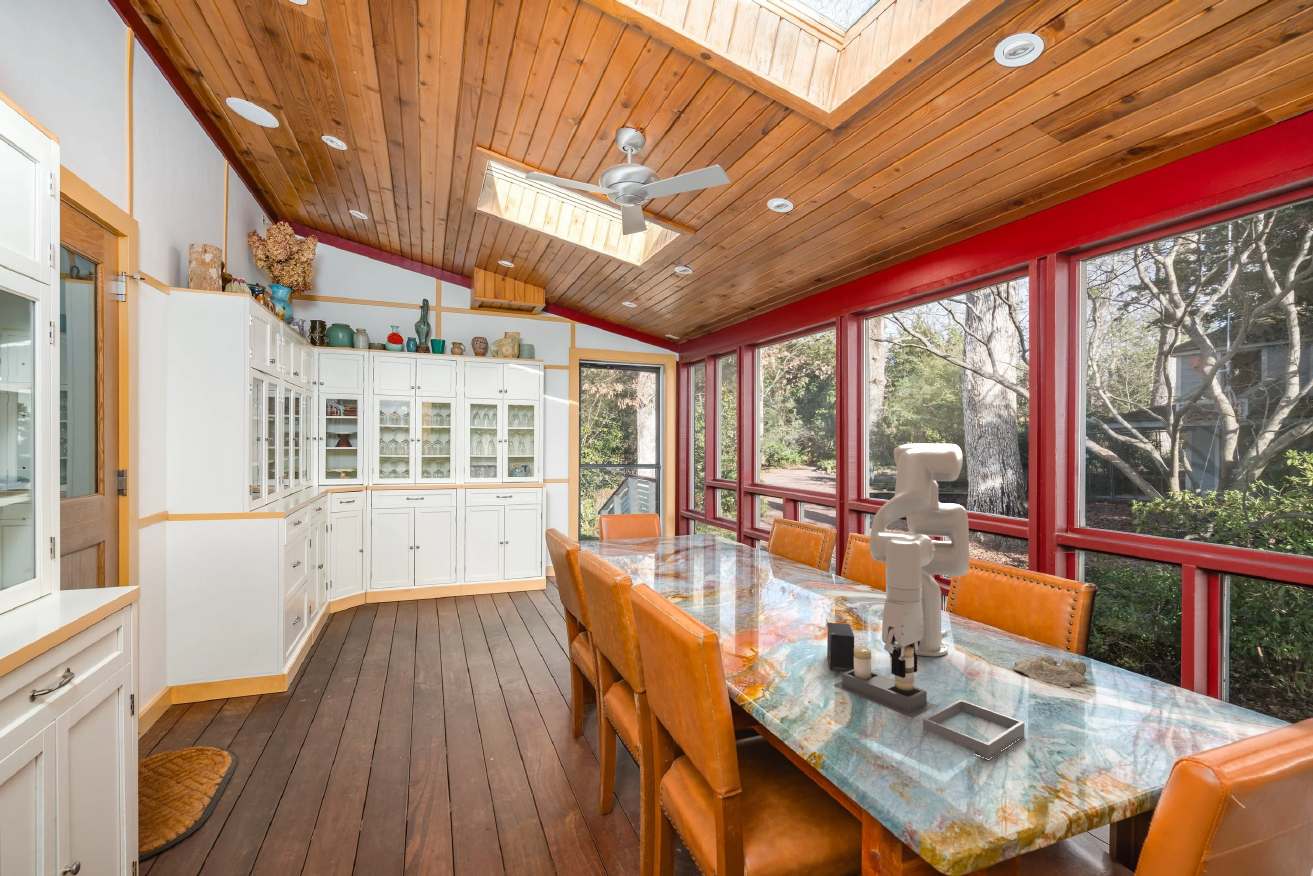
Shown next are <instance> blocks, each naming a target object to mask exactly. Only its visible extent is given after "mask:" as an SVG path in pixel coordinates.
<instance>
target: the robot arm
mask: <svg viewBox="0 0 1313 876" xmlns="http://www.w3.org/2000/svg"><path fill="white" fill-rule="evenodd" d="M893 458H894V463H895V465H896V467H897V468H896V469H897V471H896V479H895V486H894V487H895V488H894V496H893V497H891V498H890V499H889V500H888V501H885V503H884V504H883V505H882V506H881V507H880V508H879V510H877V512H876V513H875V516H874V517H873V520H872V524H871V530H870V536H869V553H870V556H871V557H872V558H873V560H874V561H876V562H879V563H884V564H885V593H886V594H885V601H884V605H883V612H882V625H881V640H882V642H883V643H884V647H883V649H884V650H885V652H887V653H888V654H889V657H890V659H891V661H890V665H891V670H890V671H891V674H892V675H894V676H895V675H896V676H899V677H902V678H904V677H906V666H905V660H903V659H904V649H905V646H907V645H909V646H911V647H913V648H914V673H917V672H918V656H922V657H941V656H944V655H947V653H948V647H947V645H946V644H944V643H942V640H943V639H944V638H947V636H948V632H947V631H946V630H942V590H941V587H940V584H938V582H937V581H936V579H935V578H934V577H933V576H932V575H935V576H937V575H938V576H947V577H950V576H951V577H963V576H965V575H967V574H968V571H969V567H970V541H969V540H970V539H969V538H970V537H969V534H970V533H969V527H970V526H969V517H968V512H967V509H966V508H965V507H964V506H963V505H960V504H957V503H950V502H949V503H948V502H947V503H944V502H943V503H942V502H940V501H939V484H938V482H954V481H956V480H958V478H959V476H960V473H961V471H962V467H963V461H964V459H963V453H962V450H961V448H960V446H959V445H957V444H955V443H907V444H906V443H905V444H901V445H898V446H897V447H896V448H895V449H894V452H893ZM904 517H906V526H907V529H908V531H909V532H901V531H886V528H887V527H888V526H889V525H890V524H891V523H893V522H895V521H897V520H899V519H902V518H904ZM930 537H941V538H948V539H949V540H950V541H947V540H946V541H944V540H943V541H942V540H934V539H932V538H930ZM895 647H897V648H900V649H899V652H898V651H897V650H896V649H895Z"/></svg>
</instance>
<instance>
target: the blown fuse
mask: <svg viewBox="0 0 1313 876" xmlns="http://www.w3.org/2000/svg"><path fill="white" fill-rule="evenodd" d="M895 649H896V650H897V651H898V652H899V649H900V648H897V647H895ZM903 660H905V666H906V677H904V678H902V677H899V676H896V675H894V680H895V686H896V687H897V688H898V689H901V690H907V691H909V690H913V689H914V687H915V672H914V648H913V647H911V646H909V645H907V646H905V649H904V659H903Z"/></svg>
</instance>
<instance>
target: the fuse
mask: <svg viewBox="0 0 1313 876" xmlns="http://www.w3.org/2000/svg"><path fill="white" fill-rule="evenodd" d="M871 671H872V649H870V648H868V647H864V646H857V647H854V677H857V678H859V679H862V680H865V681H866V680H869V679H871Z"/></svg>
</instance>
